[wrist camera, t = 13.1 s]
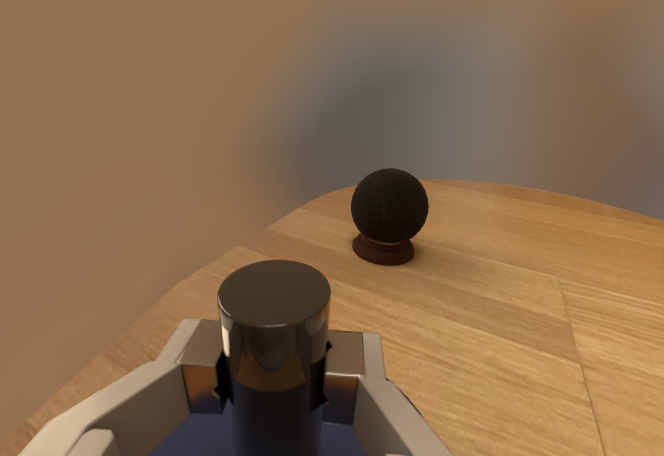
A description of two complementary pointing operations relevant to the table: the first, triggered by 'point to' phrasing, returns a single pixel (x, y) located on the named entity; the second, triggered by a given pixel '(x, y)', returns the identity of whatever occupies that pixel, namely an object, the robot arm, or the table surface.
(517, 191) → the table surface
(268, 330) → the lid
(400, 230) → the ball on stand
